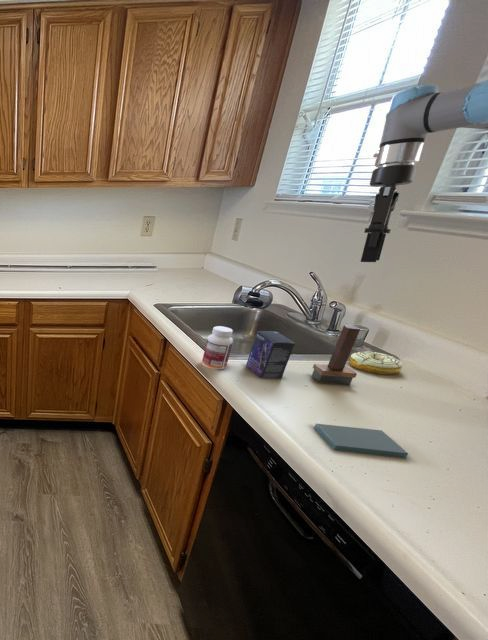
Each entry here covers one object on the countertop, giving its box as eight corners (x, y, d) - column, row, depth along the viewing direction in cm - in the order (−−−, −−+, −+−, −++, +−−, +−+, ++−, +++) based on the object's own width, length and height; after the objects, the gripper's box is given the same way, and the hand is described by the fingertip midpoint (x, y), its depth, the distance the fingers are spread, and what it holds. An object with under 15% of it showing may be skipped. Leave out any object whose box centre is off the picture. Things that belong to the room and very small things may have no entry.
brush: (341, 379, 109) (364, 325, 103) (351, 387, 105) (375, 331, 98) (308, 376, 110) (329, 323, 104) (317, 384, 106) (339, 329, 100)
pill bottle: (212, 360, 120) (222, 324, 115) (230, 369, 115) (241, 331, 110) (196, 363, 118) (205, 326, 113) (213, 372, 113) (224, 333, 108)
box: (244, 366, 116) (256, 330, 111) (265, 367, 116) (277, 330, 111) (260, 379, 109) (273, 341, 104) (282, 380, 109) (296, 341, 104)
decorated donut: (343, 358, 122) (348, 346, 120) (390, 365, 118) (395, 352, 116) (353, 372, 113) (358, 359, 112) (404, 379, 109) (410, 366, 107)
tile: (378, 436, 85) (381, 430, 85) (405, 459, 78) (408, 453, 78) (313, 429, 88) (315, 423, 87) (333, 451, 81) (336, 445, 80)
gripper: (376, 174, 107) (355, 259, 114) (369, 161, 90) (344, 262, 97) (417, 170, 102) (392, 259, 109) (418, 156, 85) (388, 263, 92)
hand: (370, 261), depth 103 cm, fingers open, 13 cm apart
